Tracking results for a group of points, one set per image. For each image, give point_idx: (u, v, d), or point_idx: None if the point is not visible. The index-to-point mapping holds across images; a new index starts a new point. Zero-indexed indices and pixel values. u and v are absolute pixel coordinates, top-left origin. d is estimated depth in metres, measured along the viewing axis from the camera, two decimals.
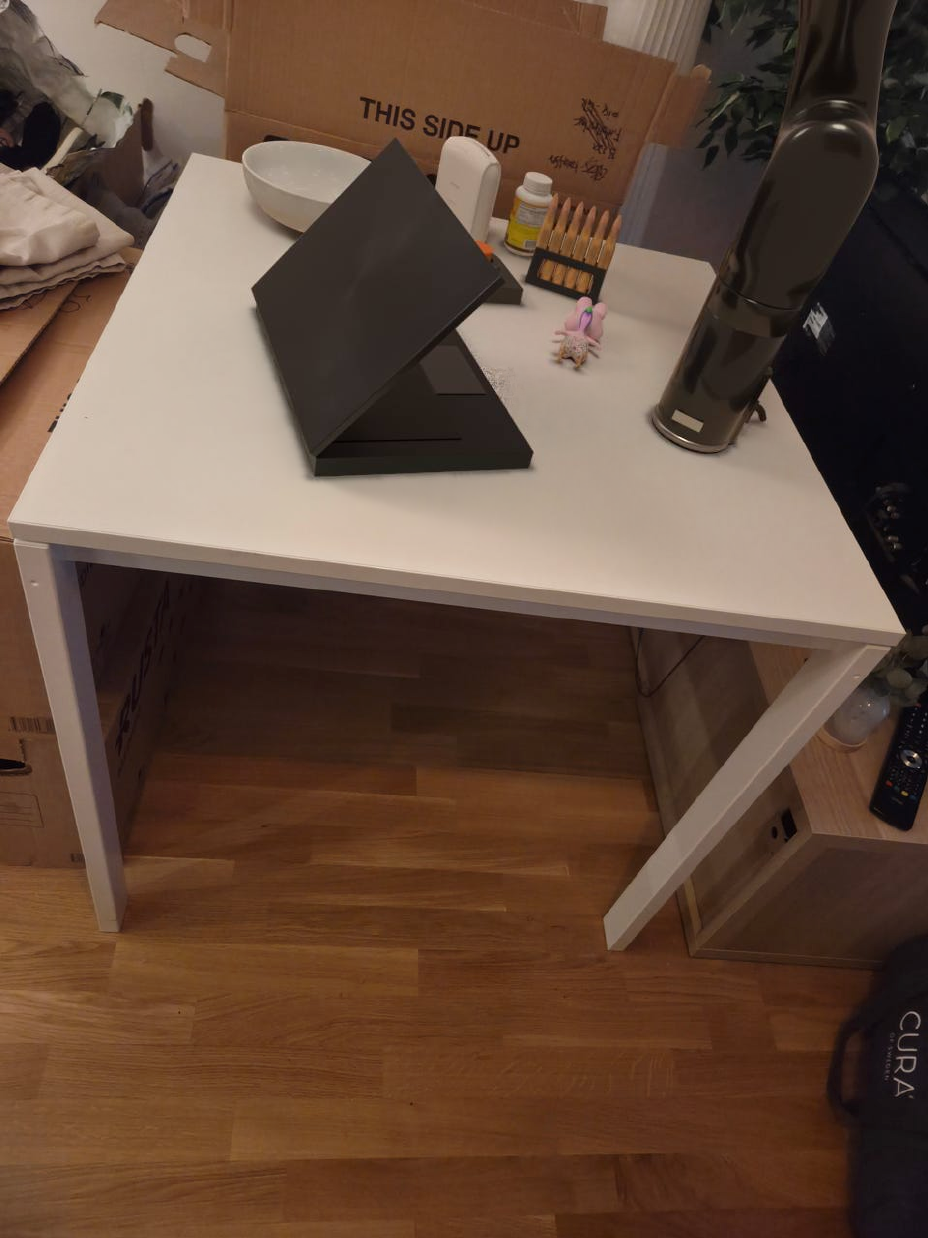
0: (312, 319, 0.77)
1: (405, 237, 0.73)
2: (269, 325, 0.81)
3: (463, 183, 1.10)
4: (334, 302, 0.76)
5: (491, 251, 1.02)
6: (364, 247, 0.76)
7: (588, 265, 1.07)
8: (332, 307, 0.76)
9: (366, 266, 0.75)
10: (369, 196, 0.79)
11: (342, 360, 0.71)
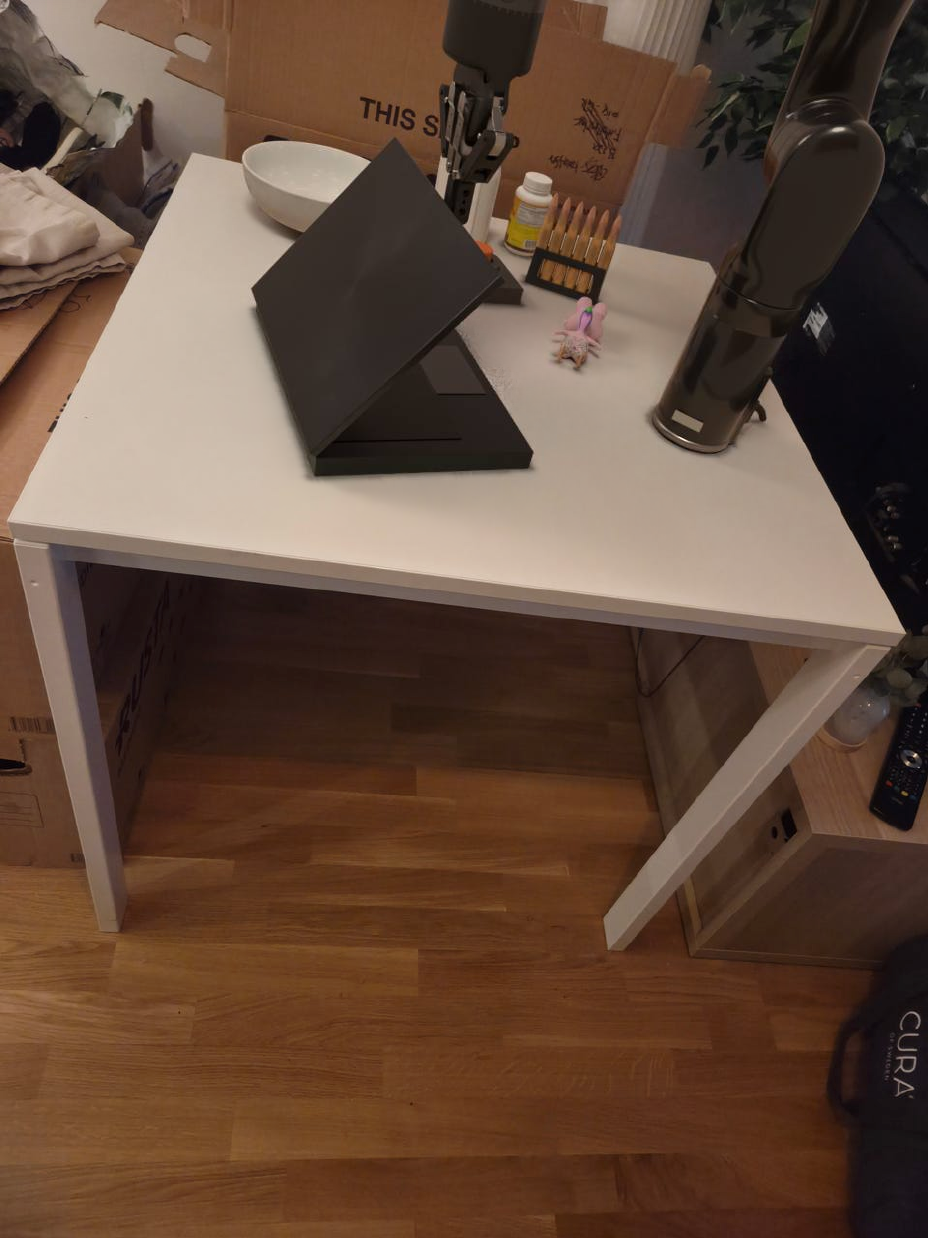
0: (312, 319, 0.77)
1: (405, 237, 0.73)
2: (269, 325, 0.81)
3: None
4: (334, 302, 0.76)
5: (491, 251, 1.02)
6: (364, 247, 0.76)
7: (588, 265, 1.07)
8: (332, 307, 0.76)
9: (366, 266, 0.75)
10: (369, 196, 0.79)
11: (342, 360, 0.71)
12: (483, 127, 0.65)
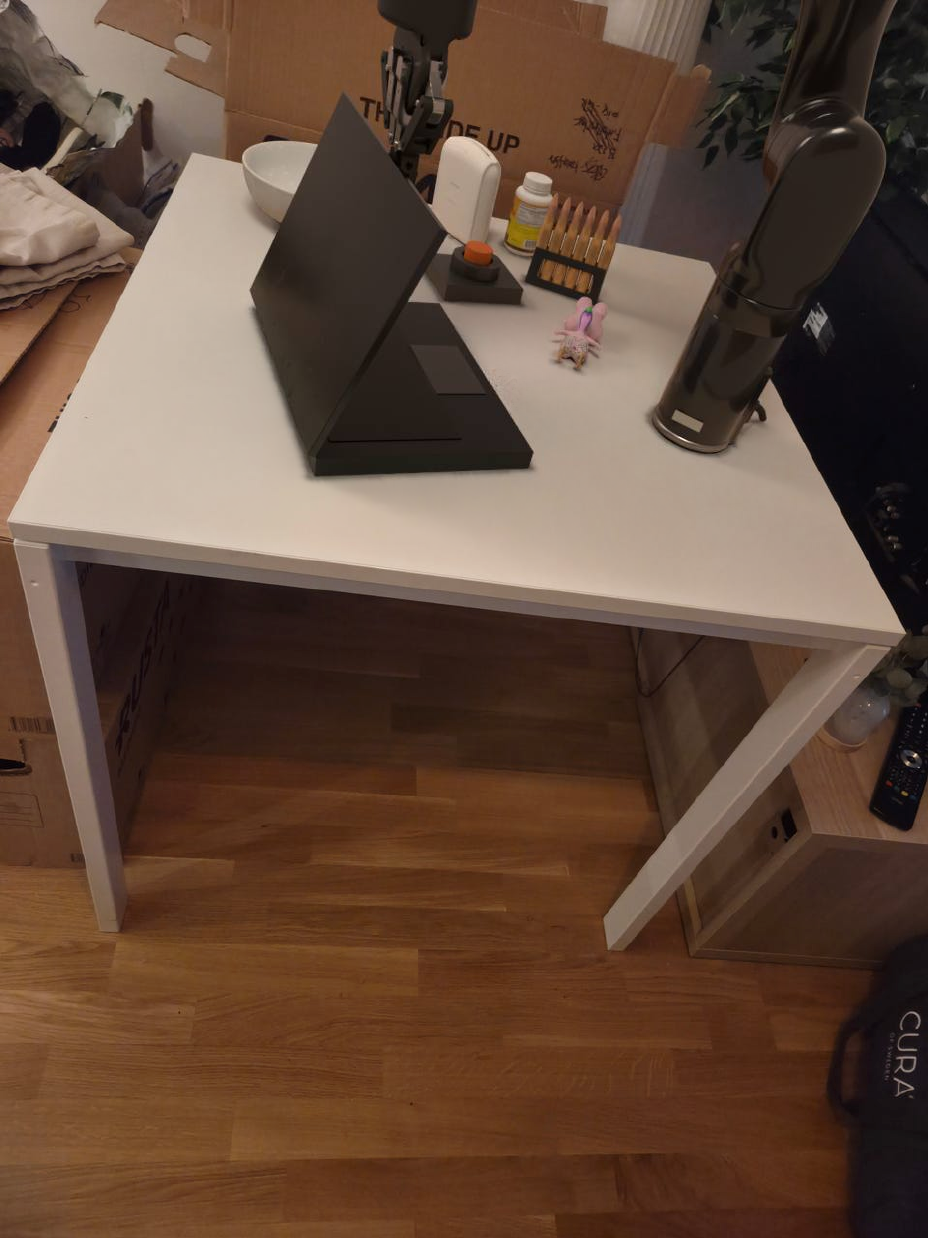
0: (297, 312, 0.76)
1: (359, 204, 0.69)
2: (266, 326, 0.81)
3: (463, 183, 1.10)
4: (311, 290, 0.74)
5: (491, 251, 1.02)
6: (329, 224, 0.73)
7: (588, 265, 1.07)
8: (310, 296, 0.74)
9: (332, 244, 0.72)
10: (328, 165, 0.76)
11: (323, 352, 0.70)
12: (422, 94, 0.62)
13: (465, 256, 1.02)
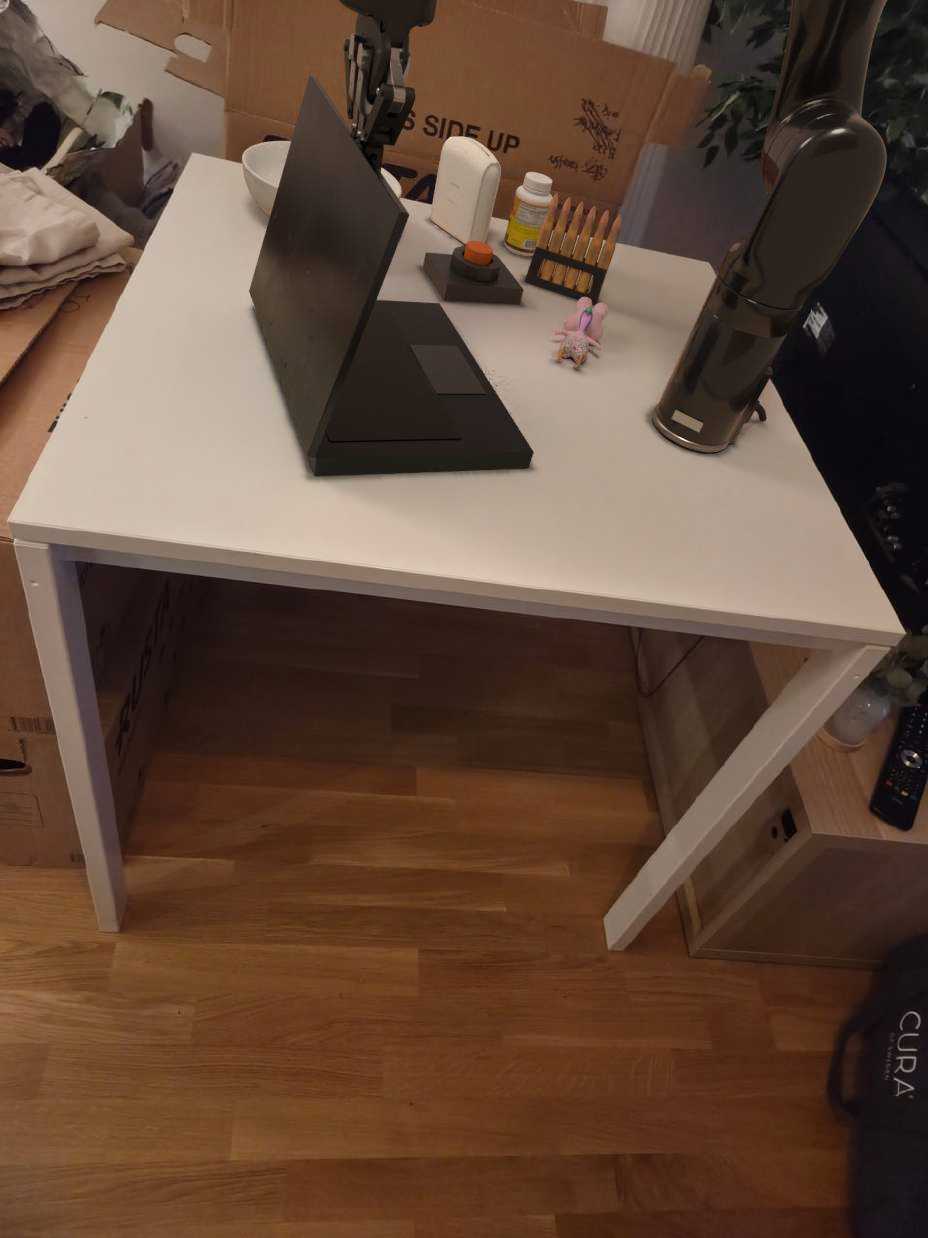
0: (288, 311, 0.75)
1: (331, 193, 0.68)
2: (265, 327, 0.81)
3: (463, 183, 1.10)
4: (298, 287, 0.73)
5: (491, 251, 1.02)
6: (308, 216, 0.72)
7: (588, 265, 1.07)
8: (298, 293, 0.73)
9: (312, 237, 0.71)
10: (303, 155, 0.74)
11: (312, 349, 0.70)
12: (384, 82, 0.60)
13: (465, 256, 1.02)
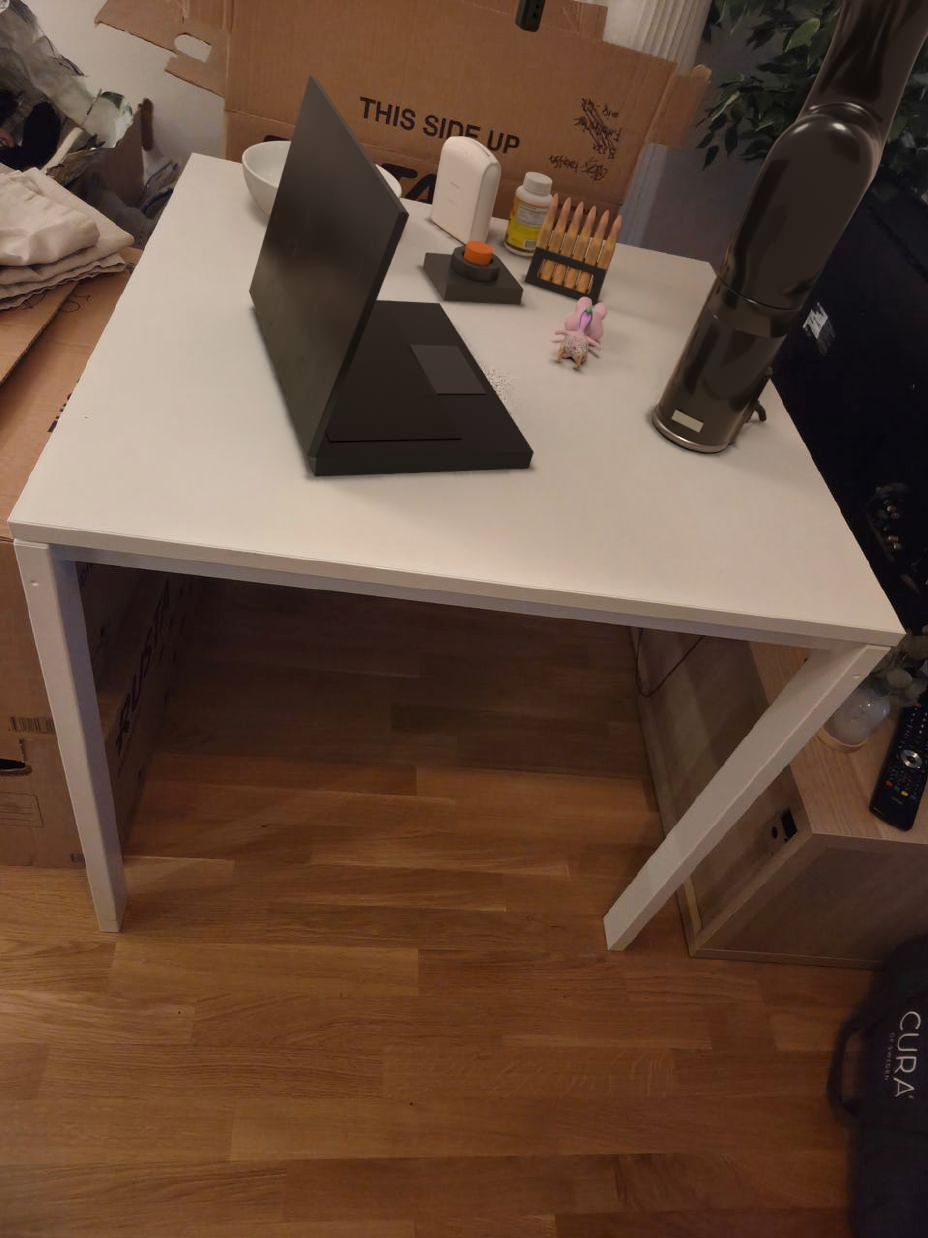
0: (288, 311, 0.75)
1: (331, 193, 0.68)
2: (265, 327, 0.81)
3: (463, 183, 1.10)
4: (298, 287, 0.73)
5: (491, 251, 1.02)
6: (308, 216, 0.72)
7: (588, 265, 1.07)
8: (298, 293, 0.73)
9: (312, 237, 0.71)
10: (303, 155, 0.74)
11: (312, 349, 0.70)
12: None
13: (465, 256, 1.02)
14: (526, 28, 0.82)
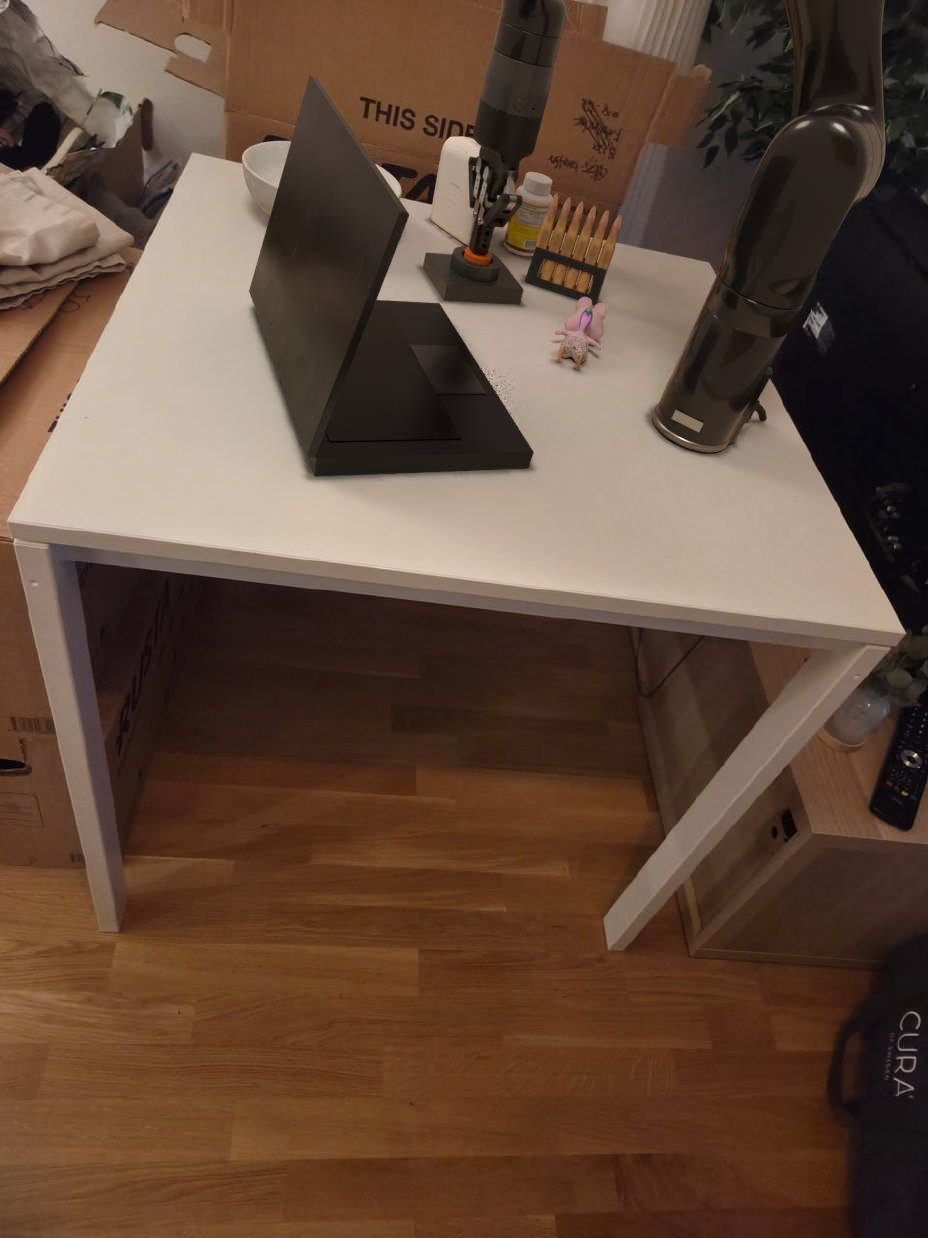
0: (288, 311, 0.75)
1: (331, 193, 0.68)
2: (265, 327, 0.81)
3: (463, 183, 1.10)
4: (298, 287, 0.73)
5: (490, 257, 1.02)
6: (308, 216, 0.72)
7: (588, 265, 1.07)
8: (298, 293, 0.73)
9: (312, 237, 0.71)
10: (303, 155, 0.74)
11: (312, 349, 0.70)
12: (501, 190, 0.94)
13: None
14: (477, 253, 1.02)
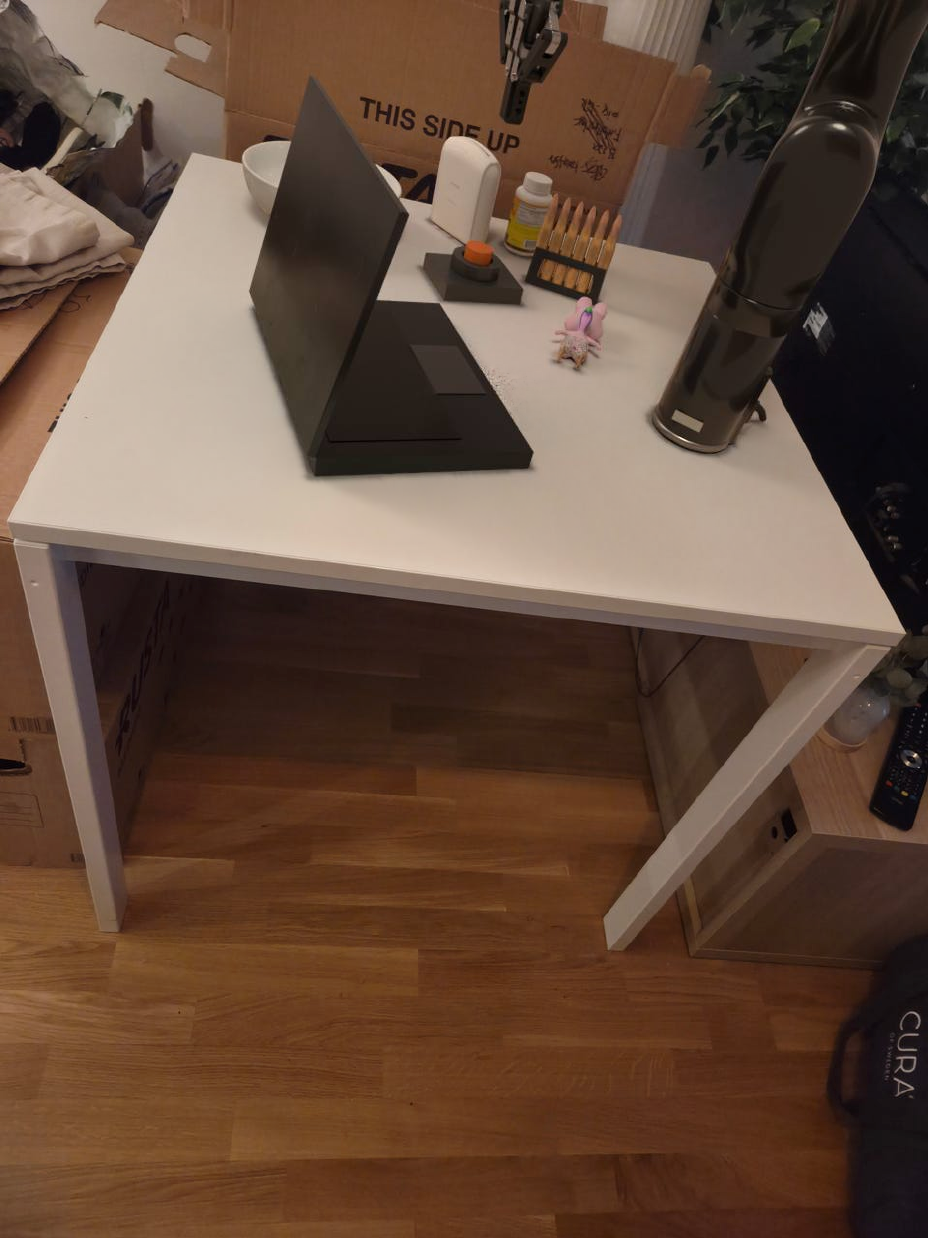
0: (288, 311, 0.75)
1: (331, 193, 0.68)
2: (265, 327, 0.81)
3: (463, 183, 1.10)
4: (298, 287, 0.73)
5: (491, 251, 1.02)
6: (308, 216, 0.72)
7: (588, 265, 1.07)
8: (298, 293, 0.73)
9: (312, 237, 0.71)
10: (303, 155, 0.74)
11: (312, 349, 0.70)
12: (540, 29, 0.76)
13: (465, 256, 1.02)
14: (510, 121, 0.83)
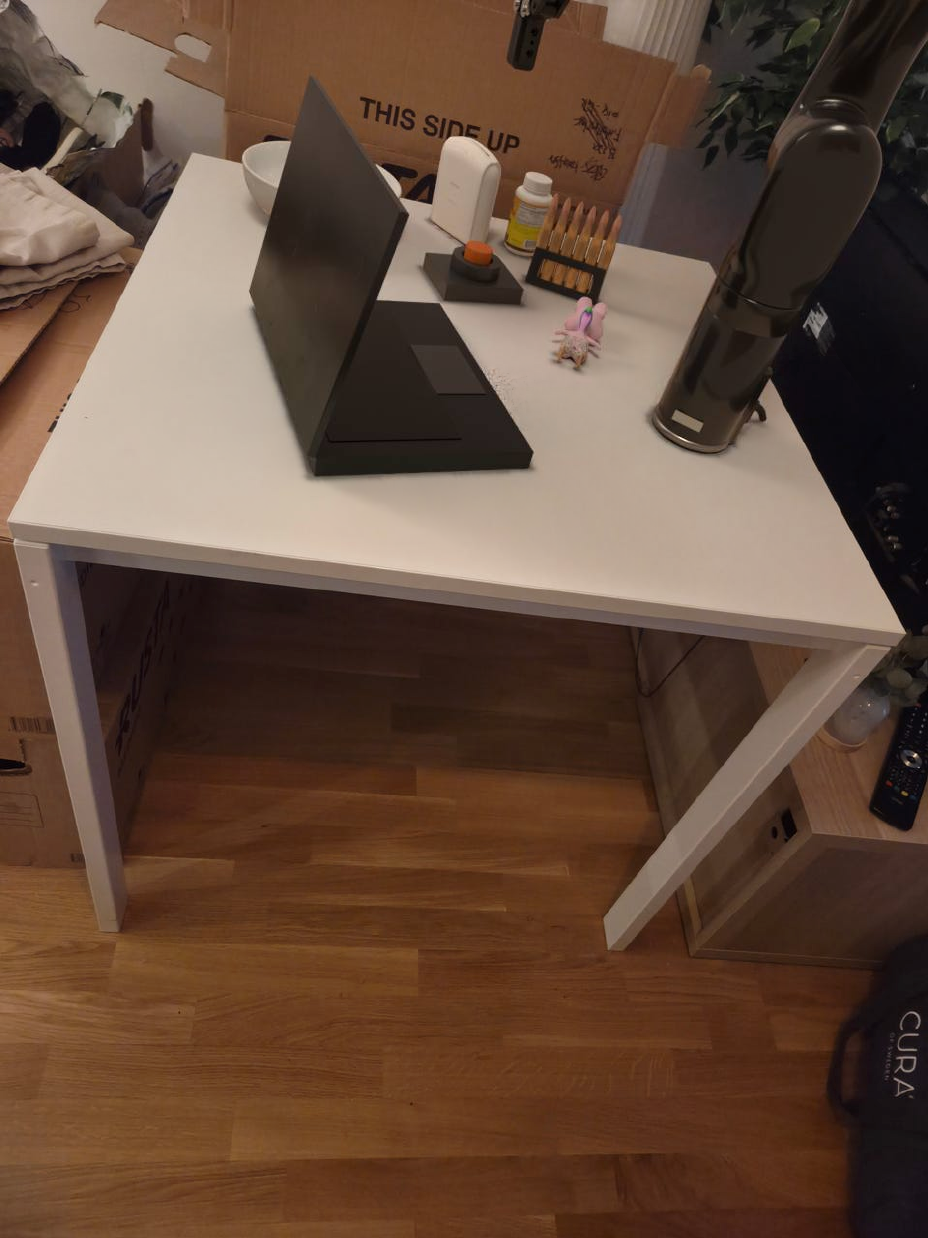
0: (288, 311, 0.75)
1: (331, 193, 0.68)
2: (265, 327, 0.81)
3: (463, 183, 1.10)
4: (298, 287, 0.73)
5: (491, 251, 1.02)
6: (308, 216, 0.72)
7: (588, 265, 1.07)
8: (298, 293, 0.73)
9: (312, 237, 0.71)
10: (303, 155, 0.74)
11: (312, 349, 0.70)
12: None
13: (465, 256, 1.02)
14: (519, 67, 0.70)
